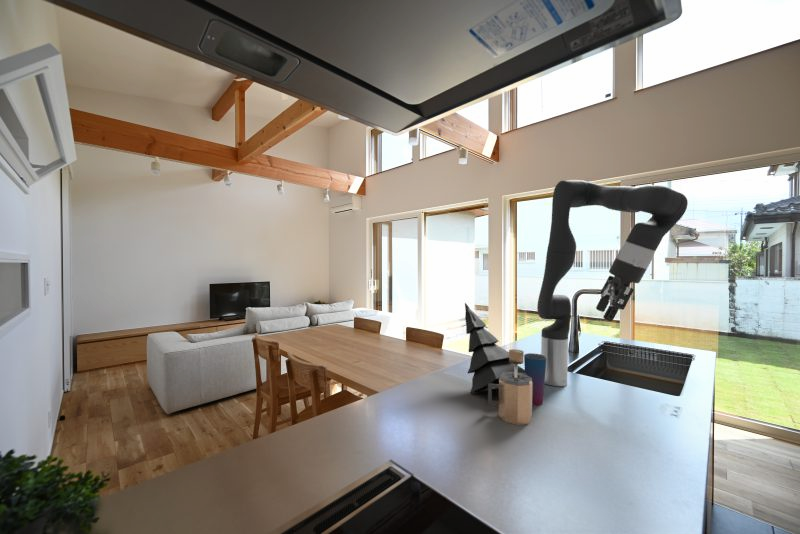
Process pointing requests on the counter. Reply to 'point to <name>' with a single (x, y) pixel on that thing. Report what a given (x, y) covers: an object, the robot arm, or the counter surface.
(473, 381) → the decorative tree
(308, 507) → the counter surface
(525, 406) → the press pot
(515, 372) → the plunger
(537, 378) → the cup
